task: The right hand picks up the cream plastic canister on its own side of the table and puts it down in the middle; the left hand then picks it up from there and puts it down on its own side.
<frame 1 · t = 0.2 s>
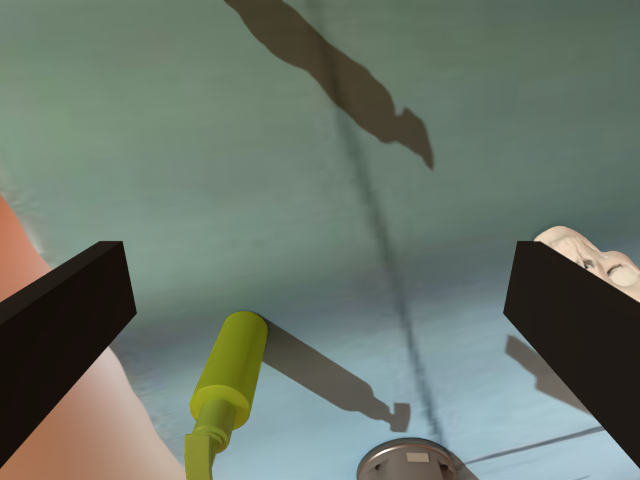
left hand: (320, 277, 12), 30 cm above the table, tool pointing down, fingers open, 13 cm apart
skull bowl: (565, 277, 45), on the table
soap dispenser: (245, 326, 48), on the table
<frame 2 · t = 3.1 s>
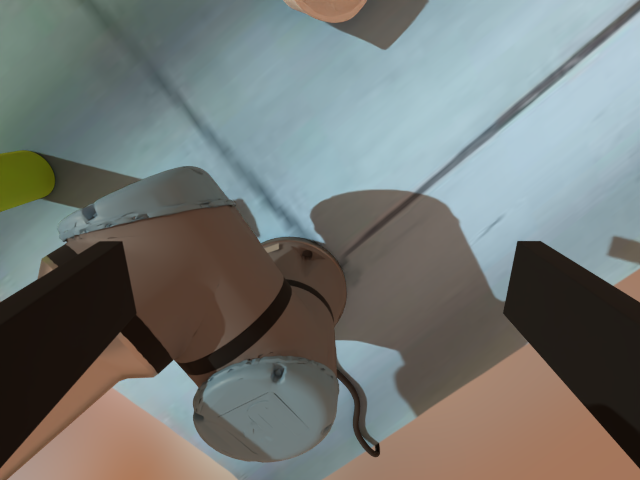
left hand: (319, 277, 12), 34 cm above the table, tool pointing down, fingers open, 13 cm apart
soap dispenser: (29, 170, 45), on the table
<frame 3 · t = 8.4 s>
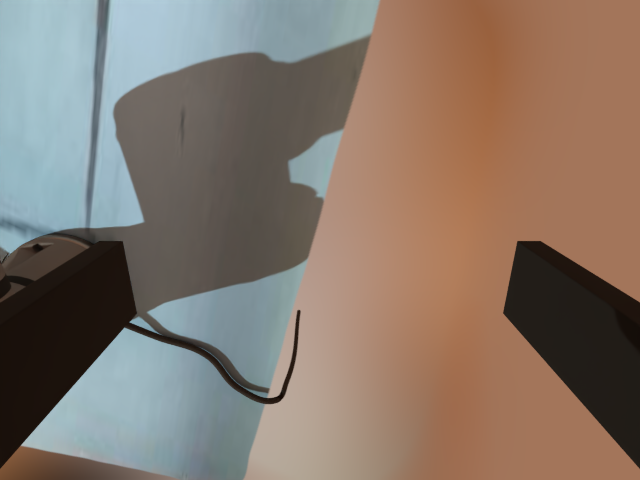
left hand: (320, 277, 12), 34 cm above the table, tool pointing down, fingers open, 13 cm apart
when the right hand's fingers open (2 cm above the table, at t = 13.6 s): canister drops 1 cm, on the table.
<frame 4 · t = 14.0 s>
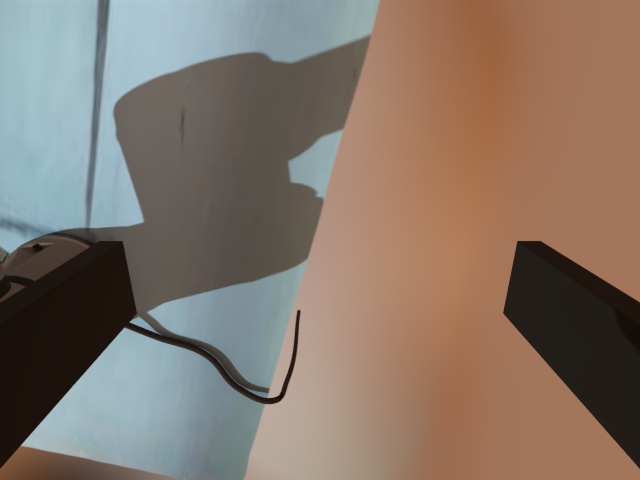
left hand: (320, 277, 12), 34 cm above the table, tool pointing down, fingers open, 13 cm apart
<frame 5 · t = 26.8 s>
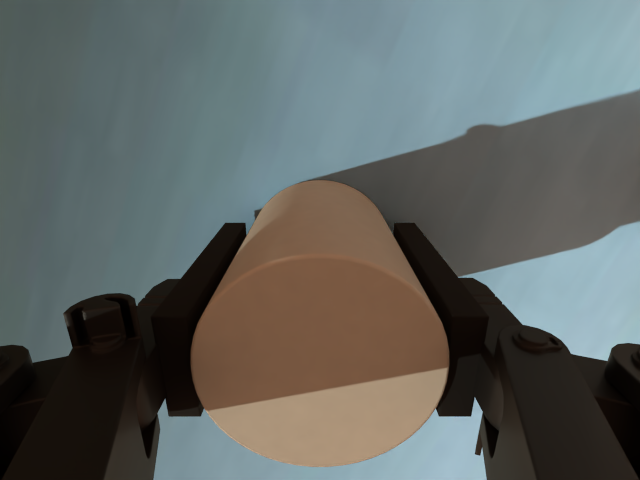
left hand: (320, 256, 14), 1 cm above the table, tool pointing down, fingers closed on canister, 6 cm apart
canister: (320, 248, 15), on the table, touching left hand
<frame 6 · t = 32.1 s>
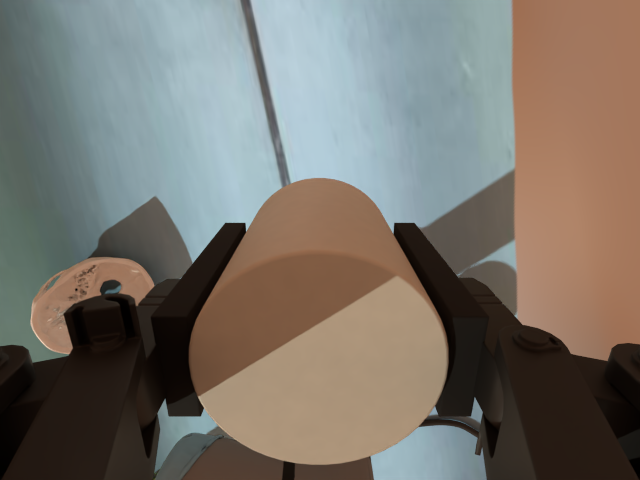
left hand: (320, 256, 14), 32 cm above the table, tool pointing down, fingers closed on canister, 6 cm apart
skull bowl: (110, 285, 51), on the table
canister: (319, 246, 15), point 32 cm above the table, touching left hand
when the left hand's fingers open (2 cm above the table, at t = 37.4 s): canister drops 1 cm, on the table.
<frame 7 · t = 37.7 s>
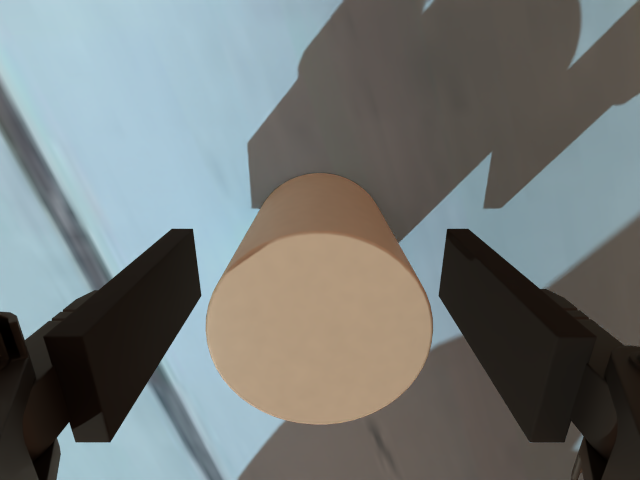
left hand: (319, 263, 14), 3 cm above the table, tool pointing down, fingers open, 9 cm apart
canister: (319, 237, 16), on the table
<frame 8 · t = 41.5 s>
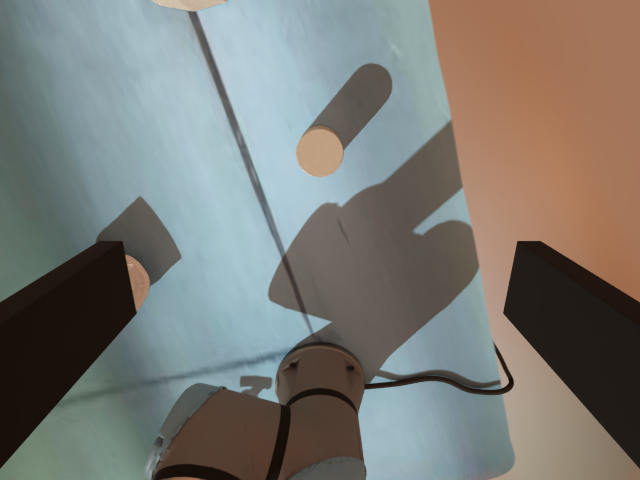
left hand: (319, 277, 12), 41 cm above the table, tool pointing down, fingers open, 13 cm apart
skull bowl: (111, 280, 58), on the table
canister: (319, 146, 51), on the table
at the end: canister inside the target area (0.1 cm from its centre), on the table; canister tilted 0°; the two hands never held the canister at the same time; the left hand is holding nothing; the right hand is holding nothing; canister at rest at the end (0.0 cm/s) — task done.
